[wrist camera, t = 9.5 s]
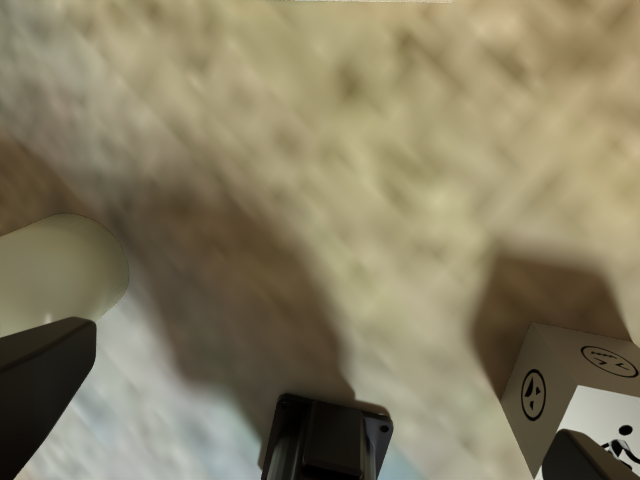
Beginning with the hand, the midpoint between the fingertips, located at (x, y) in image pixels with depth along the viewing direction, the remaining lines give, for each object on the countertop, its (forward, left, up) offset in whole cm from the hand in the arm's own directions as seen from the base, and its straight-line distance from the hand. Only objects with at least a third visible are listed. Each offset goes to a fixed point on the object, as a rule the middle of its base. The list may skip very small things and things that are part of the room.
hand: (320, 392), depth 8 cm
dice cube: (-6, -13, -13) cm, 19 cm away
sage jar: (-6, +13, -13) cm, 19 cm away
